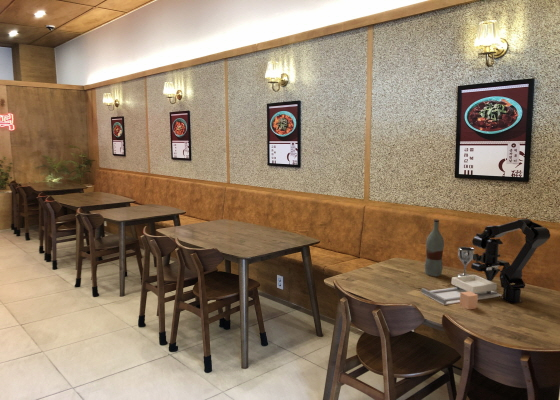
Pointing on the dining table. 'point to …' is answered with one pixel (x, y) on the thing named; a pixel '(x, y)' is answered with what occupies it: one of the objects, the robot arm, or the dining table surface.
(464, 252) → the wine glass
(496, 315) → the dining table surface
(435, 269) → the bottle
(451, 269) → the dining table surface
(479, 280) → the cream rimmed tray
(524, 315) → the dining table surface
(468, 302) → the block
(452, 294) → the track
